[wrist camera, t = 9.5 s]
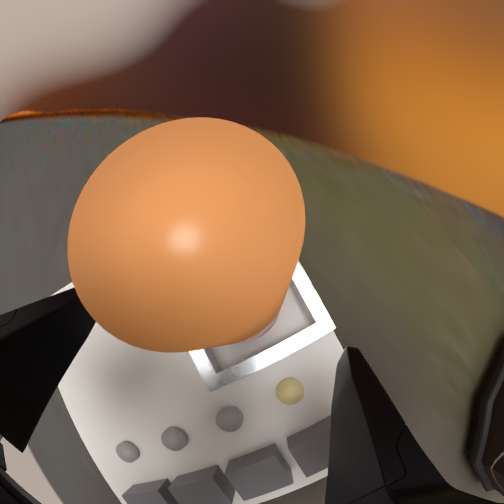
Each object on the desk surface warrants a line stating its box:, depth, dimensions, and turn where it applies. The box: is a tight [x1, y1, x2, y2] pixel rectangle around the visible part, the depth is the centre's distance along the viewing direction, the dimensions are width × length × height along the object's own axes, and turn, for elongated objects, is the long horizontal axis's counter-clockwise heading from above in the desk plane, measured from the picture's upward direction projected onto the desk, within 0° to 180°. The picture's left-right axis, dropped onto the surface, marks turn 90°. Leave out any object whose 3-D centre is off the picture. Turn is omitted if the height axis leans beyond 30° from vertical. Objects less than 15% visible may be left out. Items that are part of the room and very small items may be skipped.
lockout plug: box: [68, 118, 305, 353], centre depth 11 cm, size 4×4×13 cm
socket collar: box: [189, 261, 336, 392], centre depth 16 cm, size 8×8×2 cm
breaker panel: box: [51, 282, 344, 504], centre depth 15 cm, size 20×20×3 cm
